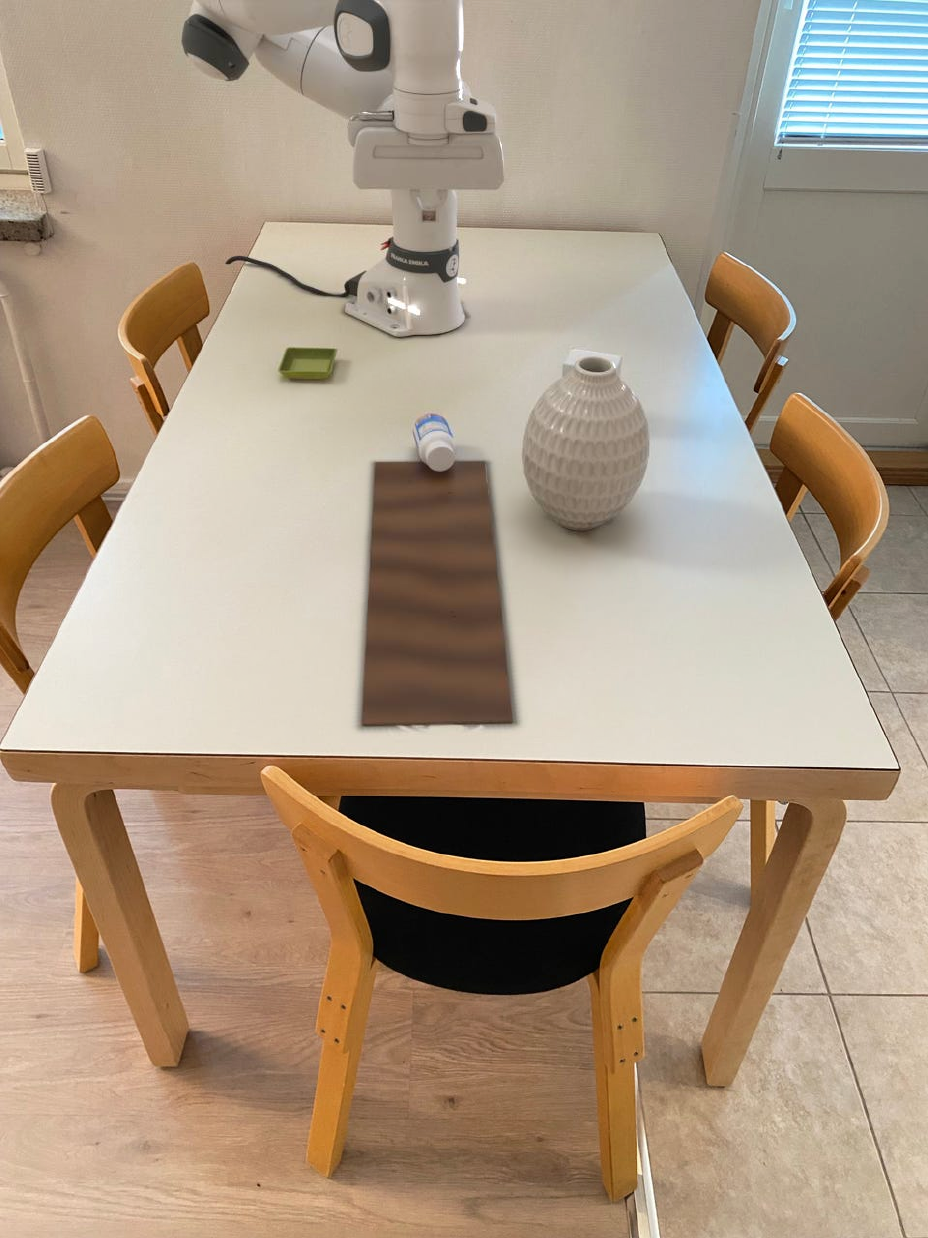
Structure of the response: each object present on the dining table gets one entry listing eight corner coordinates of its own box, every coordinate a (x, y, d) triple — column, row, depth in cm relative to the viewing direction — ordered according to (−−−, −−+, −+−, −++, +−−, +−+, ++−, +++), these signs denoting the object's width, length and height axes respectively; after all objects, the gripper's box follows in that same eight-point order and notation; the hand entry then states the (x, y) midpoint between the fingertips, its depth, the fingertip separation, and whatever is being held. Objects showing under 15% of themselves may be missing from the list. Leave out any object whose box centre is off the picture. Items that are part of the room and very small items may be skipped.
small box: (615, 418, 151) (624, 355, 144) (607, 435, 147) (616, 372, 140) (565, 409, 153) (571, 346, 146) (556, 425, 149) (562, 362, 142)
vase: (605, 567, 123) (628, 410, 108) (496, 525, 129) (503, 373, 115) (656, 506, 133) (683, 356, 119) (553, 470, 140) (566, 324, 125)
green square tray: (278, 382, 158) (277, 370, 157) (287, 358, 165) (286, 346, 163) (331, 384, 158) (330, 372, 157) (338, 359, 165) (337, 348, 163)
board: (375, 464, 140) (375, 461, 140) (485, 463, 141) (485, 460, 141) (361, 725, 102) (361, 722, 102) (512, 722, 103) (512, 720, 102)
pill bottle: (443, 447, 145) (453, 479, 138) (408, 441, 144) (417, 474, 136) (452, 414, 142) (463, 445, 134) (417, 408, 140) (426, 439, 133)
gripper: (345, 116, 121) (352, 229, 130) (508, 118, 122) (503, 229, 131) (347, 103, 126) (354, 213, 135) (504, 105, 127) (500, 213, 136)
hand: (428, 221), depth 133 cm, fingers closed
